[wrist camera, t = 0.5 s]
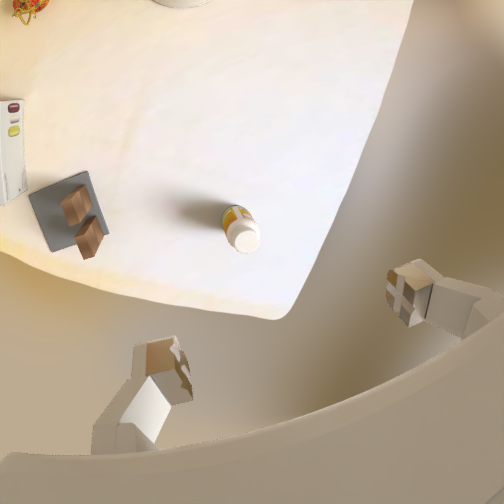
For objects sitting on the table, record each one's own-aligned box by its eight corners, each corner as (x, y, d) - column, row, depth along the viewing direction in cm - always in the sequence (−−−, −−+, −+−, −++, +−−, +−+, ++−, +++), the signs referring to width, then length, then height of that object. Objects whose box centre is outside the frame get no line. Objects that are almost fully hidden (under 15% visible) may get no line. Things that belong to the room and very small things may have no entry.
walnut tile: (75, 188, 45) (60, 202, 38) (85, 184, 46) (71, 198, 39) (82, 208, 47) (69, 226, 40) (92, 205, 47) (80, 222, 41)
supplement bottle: (223, 235, 56) (232, 260, 48) (219, 208, 54) (227, 229, 45) (251, 229, 57) (265, 254, 49) (248, 202, 55) (262, 223, 46)
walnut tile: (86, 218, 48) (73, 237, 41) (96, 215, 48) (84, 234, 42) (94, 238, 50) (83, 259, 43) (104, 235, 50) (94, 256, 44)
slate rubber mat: (29, 195, 44) (28, 195, 43) (87, 171, 45) (87, 171, 45) (52, 251, 50) (52, 252, 49) (109, 232, 51) (108, 233, 51)
